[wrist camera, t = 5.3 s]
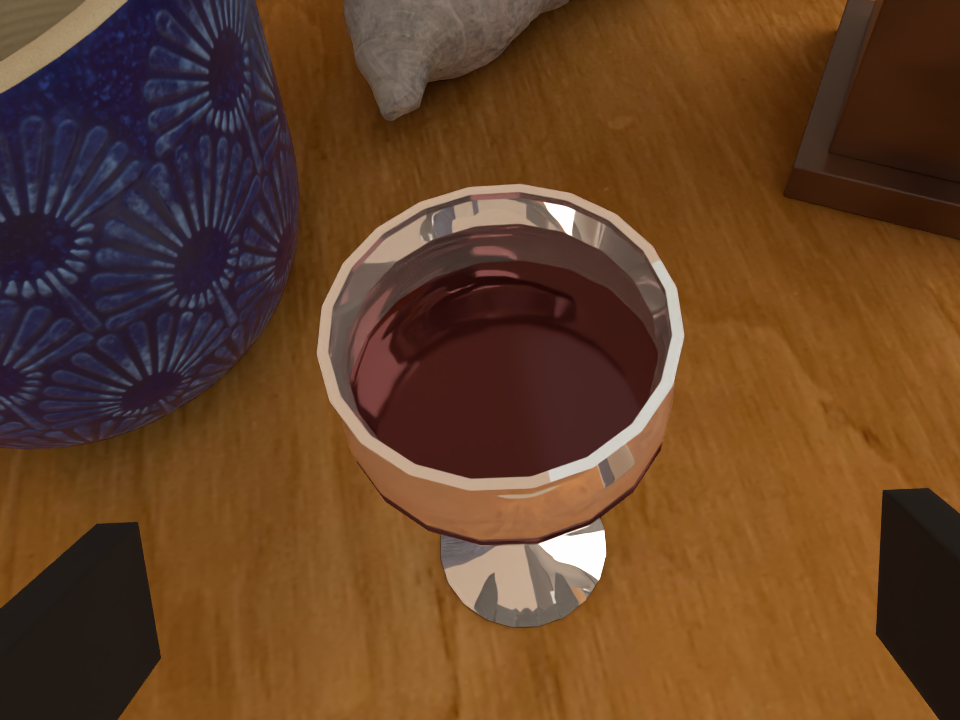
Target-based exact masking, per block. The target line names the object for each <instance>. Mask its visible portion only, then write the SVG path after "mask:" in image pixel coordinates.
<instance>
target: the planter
mask: <svg viewBox="0 0 960 720" xmlns="http://www.w3.org/2000/svg"><path fill="white" fill-rule="evenodd" d="M298 228H299V183H298V173H297V166H296V159H295V154H294V149H293V144H292V139H291V135H290V131H289V127H288V124H287V120H286V116H285V112H284V108H283V104H282V101H281V97H280V93H279V89H278V85H277V82H276V78H275V74H274V70H273V66H272V62H271V59H270V55H269V51H268V47H267V43H266V39H265V36H264V32H263V28H262V24H261V20H260V17H259V13H258V9H257V5H256V1H255V0H0V448H15V449H42V448H62V447H69V446H77V445H84V444H88V443H92V442H97V441H101V440H106V439H109V438H112V437H115V436H118V435H121V434H124V433H128V432H130V431H133V430H135V429H138V428H140V427H142V426H145V425H147V424H150V423H152V422H154V421H156V420H158V419H160V418H162V417H164V416H166V415H168V414H169V413H171V412H173V411H175V410H177V409H178V408H180V407H181V406H183V405H185V404H186V403H188V402H190V401H191V400H193V399H194V398H196V397H197V396H198V395H200V394H201V393H202V392H204V391H205V390H206V389H208V388H209V387H210V386H212V385H213V384H214V383H215V382H216V381H218V380H219V379H220V378H221V377H222V376H223V375H224V374H226V373H227V372H228V371H229V370H230V369H231V368H232V367H233V366H234V365H235V364H236V363H237V362H238V361H239V360H240V359H241V358H242V357H243V355H244V354H245V353H246V352H247V351H248V350H249V348H250V347H251V346H252V345H253V343H254V342H255V341H256V340H257V338H258V337H259V336H260V334H261V333H262V331H263V330H264V328H265V326H266V325H267V323H268V322H269V320H270V319H271V317H272V315H273V313H274V311H275V309H276V307H277V305H278V303H279V301H280V298H281V296H282V293H283V291H284V288H285V286H286V283H287V280H288V277H289V274H290V270H291V267H292V263H293V259H294V254H295V249H296V243H297V235H298Z"/></svg>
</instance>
